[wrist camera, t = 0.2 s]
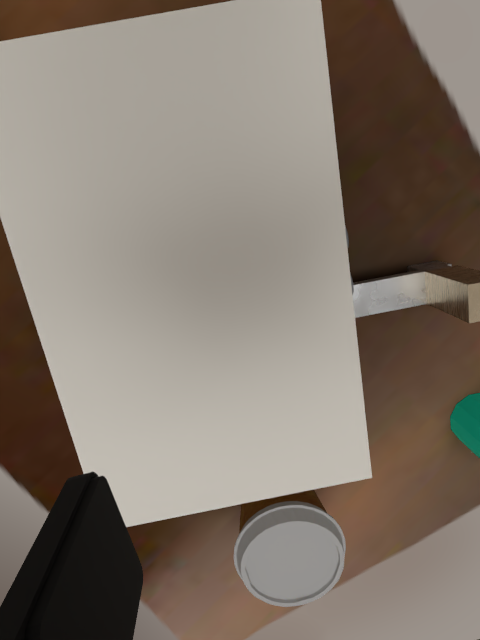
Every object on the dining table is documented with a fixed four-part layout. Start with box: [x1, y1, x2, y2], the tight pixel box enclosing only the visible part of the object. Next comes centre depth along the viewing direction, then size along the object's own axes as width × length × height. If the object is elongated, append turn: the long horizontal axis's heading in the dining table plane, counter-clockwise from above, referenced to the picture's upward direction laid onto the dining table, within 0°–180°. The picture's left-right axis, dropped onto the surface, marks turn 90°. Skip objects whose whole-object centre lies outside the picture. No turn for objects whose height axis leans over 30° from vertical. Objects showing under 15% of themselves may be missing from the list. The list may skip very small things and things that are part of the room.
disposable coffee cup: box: [234, 490, 346, 607], centre depth 40 cm, size 10×10×12 cm
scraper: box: [352, 261, 480, 323], centre depth 36 cm, size 19×7×10 cm, turn 100°
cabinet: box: [0, 0, 372, 527], centre depth 32 cm, size 28×19×16 cm
